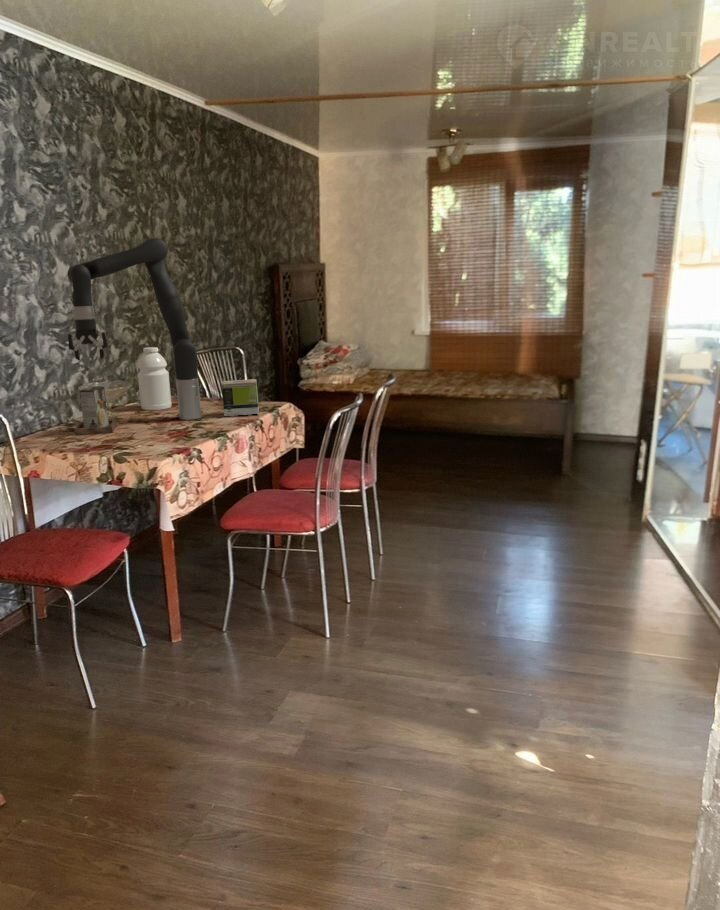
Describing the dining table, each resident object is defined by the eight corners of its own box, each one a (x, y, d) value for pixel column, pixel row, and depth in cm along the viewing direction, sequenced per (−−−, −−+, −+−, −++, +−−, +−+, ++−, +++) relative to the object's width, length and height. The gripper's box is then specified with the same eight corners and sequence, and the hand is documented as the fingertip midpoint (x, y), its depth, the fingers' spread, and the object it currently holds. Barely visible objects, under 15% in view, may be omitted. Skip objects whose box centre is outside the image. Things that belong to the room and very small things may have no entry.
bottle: (144, 405, 331) (138, 346, 324) (173, 404, 332) (168, 345, 325) (138, 411, 318) (131, 350, 310) (169, 410, 319) (163, 348, 312)
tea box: (259, 411, 311) (257, 378, 307) (258, 415, 301) (256, 382, 298) (225, 412, 309) (222, 380, 306) (223, 417, 300) (221, 383, 296)
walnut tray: (116, 425, 288) (115, 419, 288) (112, 432, 275) (111, 426, 274) (81, 427, 285) (80, 422, 285) (75, 435, 272) (74, 429, 272)
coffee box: (94, 425, 285) (89, 386, 281) (109, 425, 284) (104, 386, 280) (84, 430, 276) (78, 390, 272) (99, 430, 276) (94, 390, 271)
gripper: (105, 316, 275) (110, 357, 279) (67, 318, 272) (72, 359, 276) (102, 317, 268) (108, 359, 272) (63, 319, 265) (69, 361, 269)
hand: (90, 359), depth 274 cm, fingers open, 8 cm apart
